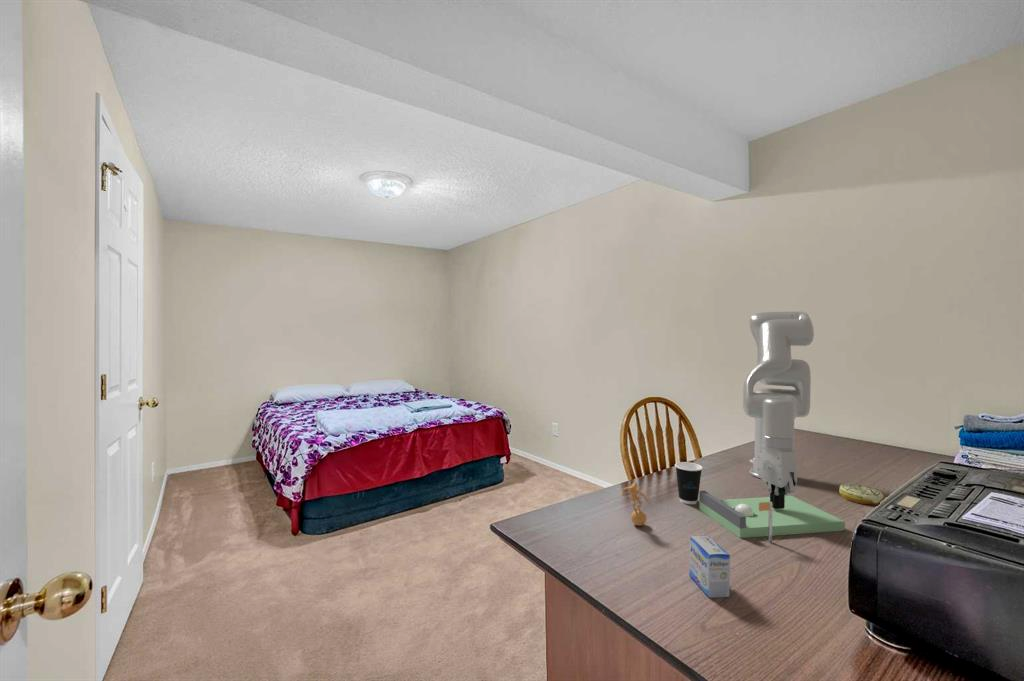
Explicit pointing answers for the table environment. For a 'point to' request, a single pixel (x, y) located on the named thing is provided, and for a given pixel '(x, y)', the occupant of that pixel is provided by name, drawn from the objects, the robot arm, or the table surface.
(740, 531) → the mat
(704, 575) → the medicine box
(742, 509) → the ball
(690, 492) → the dixie cup
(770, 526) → the flag pin
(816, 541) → the table surface
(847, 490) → the decorated donut
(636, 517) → the figurine
